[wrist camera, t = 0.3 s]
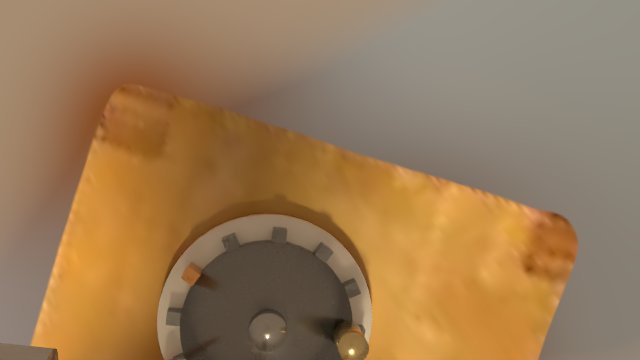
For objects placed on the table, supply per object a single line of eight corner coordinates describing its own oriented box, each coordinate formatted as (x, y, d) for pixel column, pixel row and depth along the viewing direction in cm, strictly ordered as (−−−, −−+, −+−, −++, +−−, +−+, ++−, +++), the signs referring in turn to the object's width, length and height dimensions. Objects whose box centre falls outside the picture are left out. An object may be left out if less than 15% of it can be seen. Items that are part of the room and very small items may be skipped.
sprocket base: (398, 364, 69) (412, 386, 63) (209, 450, 67) (206, 479, 62) (323, 180, 65) (330, 186, 60) (122, 265, 64) (111, 279, 58)
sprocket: (390, 367, 67) (403, 389, 61) (215, 446, 65) (212, 476, 60) (320, 195, 64) (327, 203, 58) (134, 274, 62) (124, 290, 57)
